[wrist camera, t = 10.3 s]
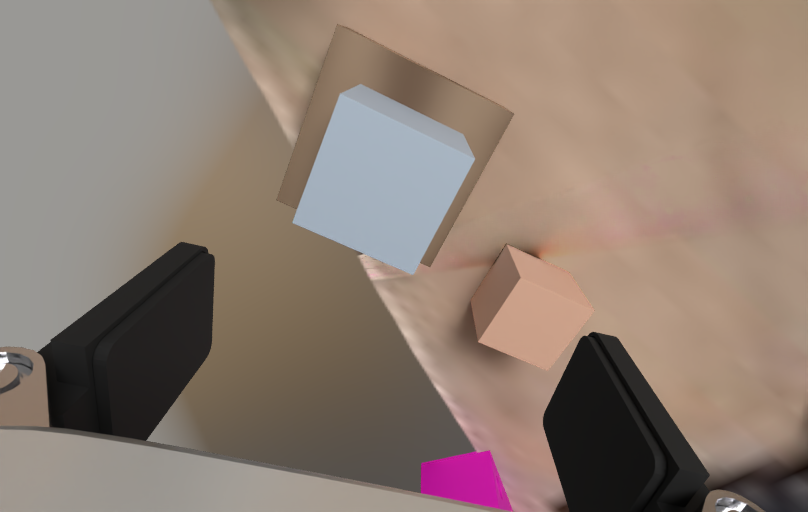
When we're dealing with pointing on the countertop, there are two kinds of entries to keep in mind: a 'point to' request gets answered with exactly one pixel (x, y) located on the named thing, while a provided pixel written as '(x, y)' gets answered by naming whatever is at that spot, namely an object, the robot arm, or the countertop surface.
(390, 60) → the walnut base plate
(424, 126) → the slate block
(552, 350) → the terracotta cube
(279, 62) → the countertop surface
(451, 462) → the toy block
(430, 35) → the countertop surface
